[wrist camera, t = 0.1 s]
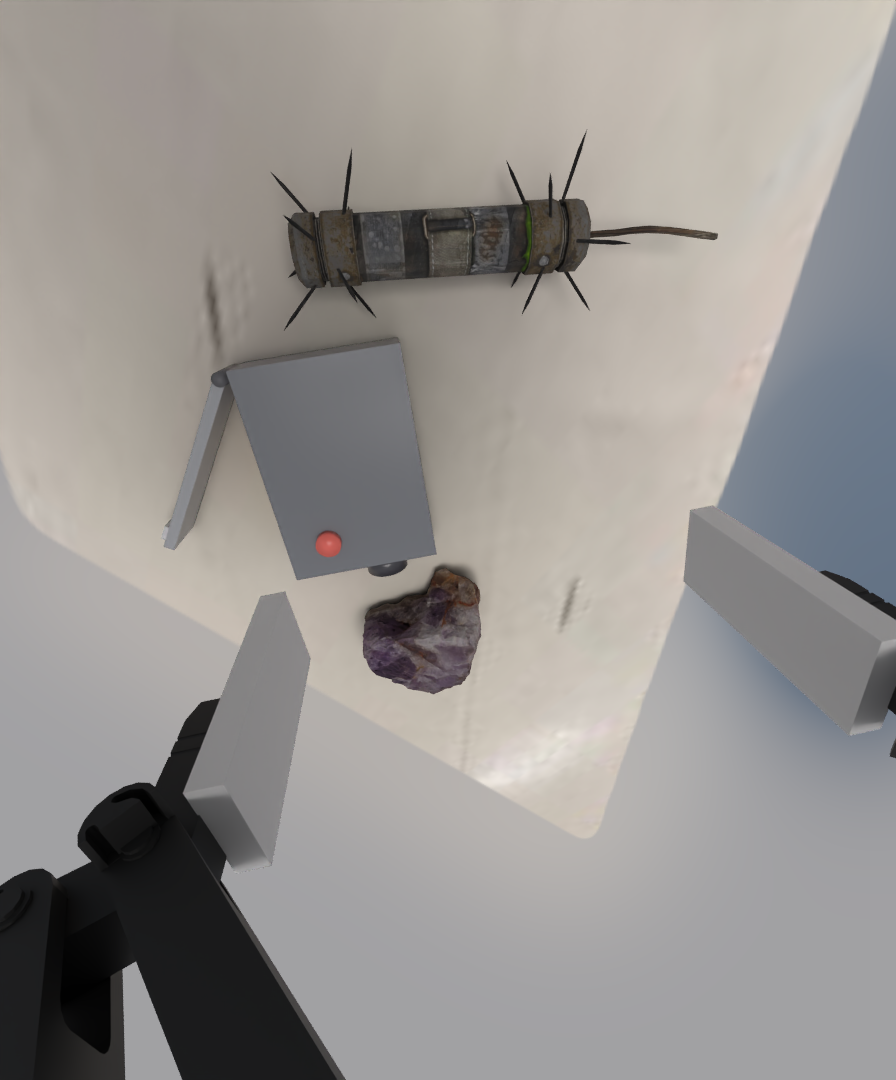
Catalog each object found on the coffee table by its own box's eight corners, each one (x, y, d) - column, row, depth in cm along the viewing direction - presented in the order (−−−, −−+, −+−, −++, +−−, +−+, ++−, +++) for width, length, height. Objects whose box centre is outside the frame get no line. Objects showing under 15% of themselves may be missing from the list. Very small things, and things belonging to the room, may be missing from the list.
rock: (361, 587, 49) (399, 658, 53) (342, 643, 41) (388, 720, 46) (469, 555, 47) (499, 632, 51) (470, 608, 39) (505, 693, 44)
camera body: (242, 362, 37) (220, 373, 32) (397, 337, 37) (400, 343, 32) (308, 566, 46) (299, 601, 40) (433, 543, 46) (440, 574, 41)
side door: (225, 358, 36) (205, 366, 32) (245, 367, 37) (228, 376, 33) (176, 521, 42) (154, 545, 38) (194, 527, 42) (174, 552, 38)
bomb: (250, 282, 25) (794, 248, 27) (230, 85, 25) (770, 69, 27) (299, 368, 36) (683, 338, 38) (285, 230, 36) (666, 209, 38)
